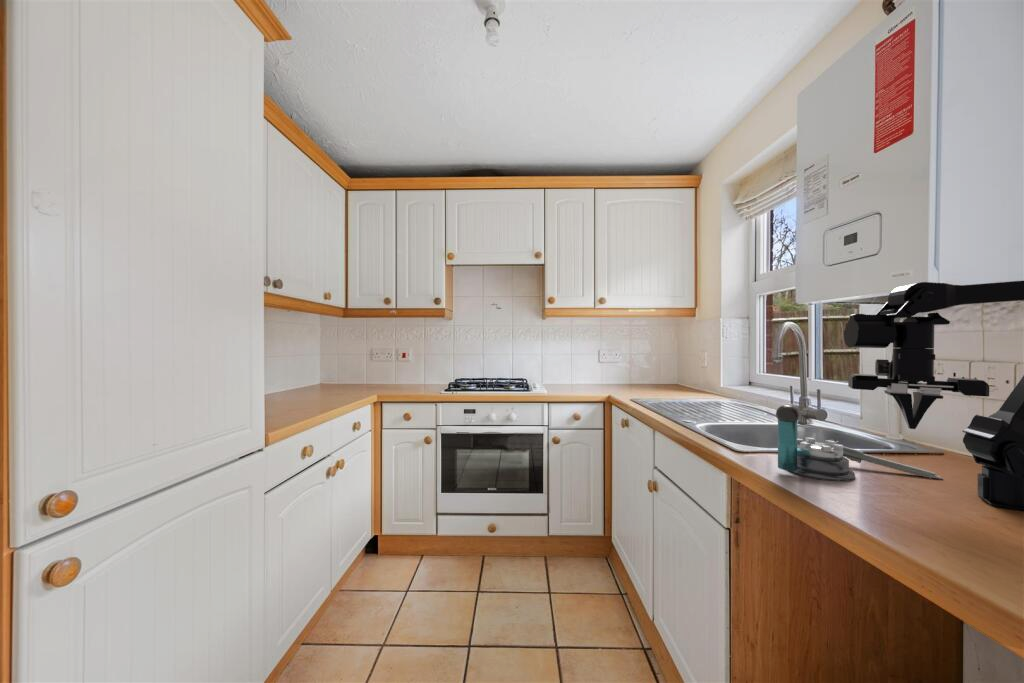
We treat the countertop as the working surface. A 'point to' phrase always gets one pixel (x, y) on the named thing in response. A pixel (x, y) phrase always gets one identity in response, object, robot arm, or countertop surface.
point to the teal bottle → (800, 442)
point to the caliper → (885, 462)
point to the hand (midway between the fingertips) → (911, 428)
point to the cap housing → (824, 469)
